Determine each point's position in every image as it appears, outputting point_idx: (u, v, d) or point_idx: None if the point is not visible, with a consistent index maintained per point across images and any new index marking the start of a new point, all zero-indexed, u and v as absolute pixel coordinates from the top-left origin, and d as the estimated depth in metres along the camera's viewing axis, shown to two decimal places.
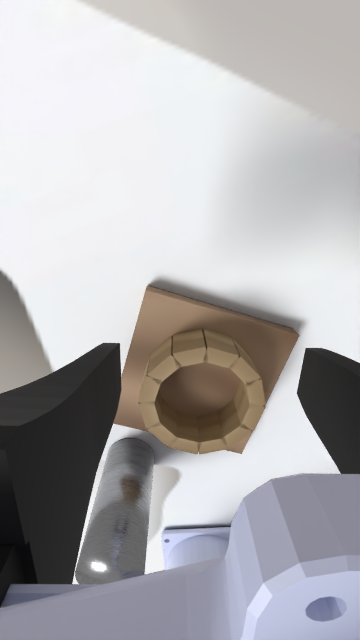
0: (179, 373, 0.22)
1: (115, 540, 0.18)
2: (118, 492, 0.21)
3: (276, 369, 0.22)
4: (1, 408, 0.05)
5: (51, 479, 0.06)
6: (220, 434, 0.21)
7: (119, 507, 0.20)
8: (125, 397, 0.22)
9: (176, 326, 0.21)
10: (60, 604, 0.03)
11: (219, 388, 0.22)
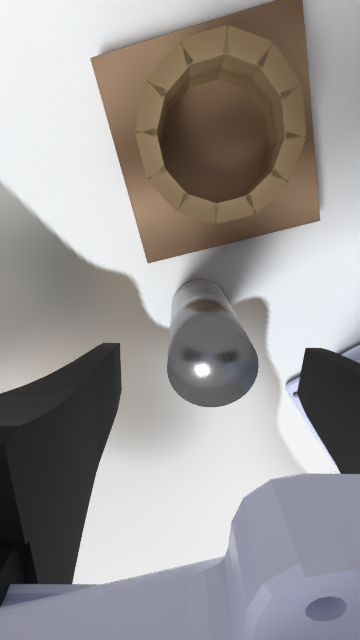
0: (187, 149, 0.17)
1: (196, 322, 0.13)
2: (186, 305, 0.16)
3: (299, 66, 0.16)
4: (1, 408, 0.05)
5: (51, 479, 0.06)
6: (269, 172, 0.15)
7: (191, 309, 0.15)
8: (147, 220, 0.18)
9: None
10: (60, 604, 0.03)
11: (243, 140, 0.17)
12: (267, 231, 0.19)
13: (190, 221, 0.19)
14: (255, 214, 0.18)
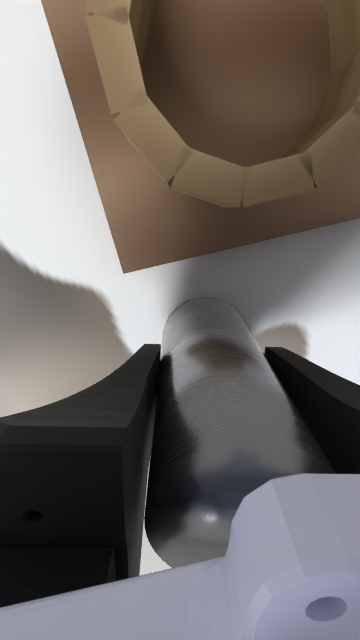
0: (189, 77, 0.10)
1: (210, 419, 0.06)
2: (187, 355, 0.09)
3: None
4: (85, 410, 0.06)
5: (134, 480, 0.06)
6: (345, 110, 0.08)
7: (197, 370, 0.08)
8: (121, 202, 0.11)
9: None
10: (60, 604, 0.03)
11: (288, 63, 0.10)
12: (318, 224, 0.11)
13: (192, 206, 0.11)
14: (300, 195, 0.11)
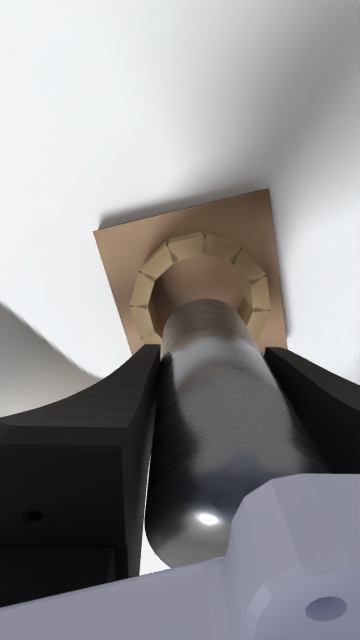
0: (174, 297, 0.20)
1: (210, 422, 0.06)
2: (187, 357, 0.09)
3: (267, 239, 0.19)
4: (85, 410, 0.06)
5: (134, 480, 0.06)
6: None
7: (197, 373, 0.08)
8: None
9: (142, 251, 0.19)
10: (60, 604, 0.03)
11: (222, 292, 0.20)
12: None
13: None
14: None
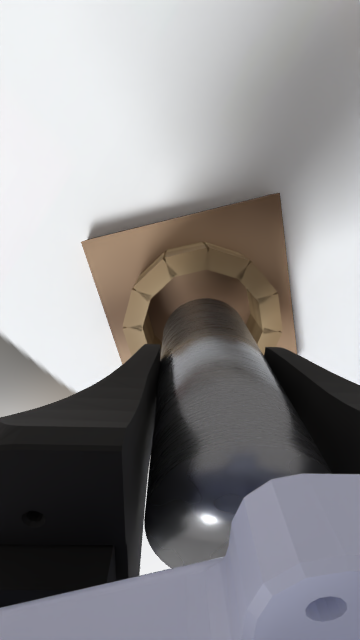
0: None
1: (210, 423, 0.06)
2: (187, 357, 0.09)
3: (278, 250, 0.17)
4: (85, 410, 0.06)
5: (134, 480, 0.06)
6: None
7: (197, 372, 0.08)
8: None
9: (136, 263, 0.17)
10: (60, 604, 0.03)
11: None
12: None
13: None
14: None
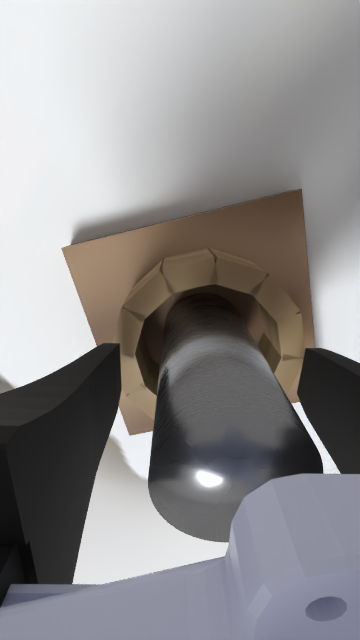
0: None
1: (205, 395, 0.07)
2: (186, 343, 0.10)
3: (297, 258, 0.14)
4: (1, 408, 0.05)
5: (51, 479, 0.06)
6: None
7: (195, 356, 0.09)
8: None
9: (128, 274, 0.14)
10: (60, 604, 0.03)
11: None
12: None
13: None
14: None
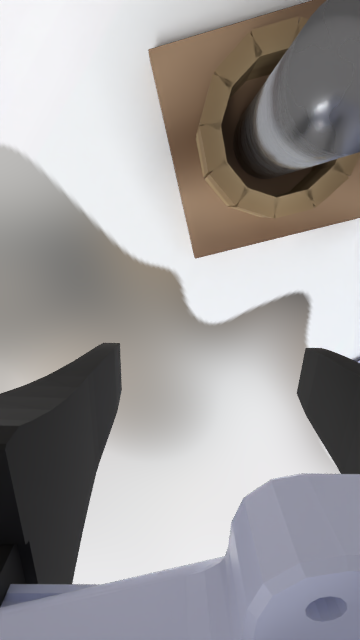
0: None
1: None
2: None
3: None
4: (1, 408, 0.05)
5: (51, 479, 0.06)
6: (329, 166, 0.15)
7: None
8: (197, 214, 0.18)
9: (206, 77, 0.16)
10: (60, 604, 0.03)
11: None
12: (316, 226, 0.19)
13: (240, 216, 0.18)
14: None
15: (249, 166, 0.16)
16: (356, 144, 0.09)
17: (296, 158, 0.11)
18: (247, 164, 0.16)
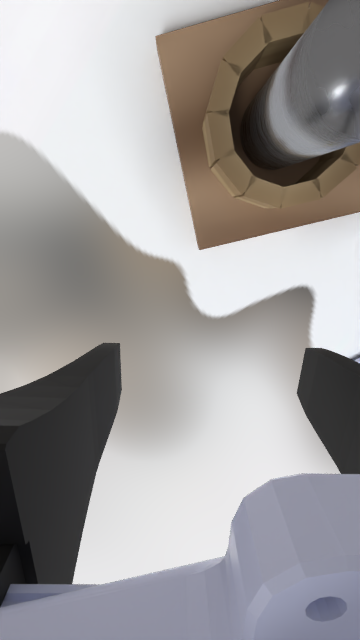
0: None
1: None
2: None
3: None
4: (1, 408, 0.05)
5: (51, 479, 0.06)
6: (337, 156, 0.15)
7: None
8: (202, 205, 0.18)
9: (213, 65, 0.16)
10: (60, 604, 0.03)
11: None
12: (322, 218, 0.19)
13: (245, 207, 0.18)
14: (311, 201, 0.18)
15: (257, 156, 0.16)
16: None
17: (311, 144, 0.11)
18: (255, 154, 0.16)
